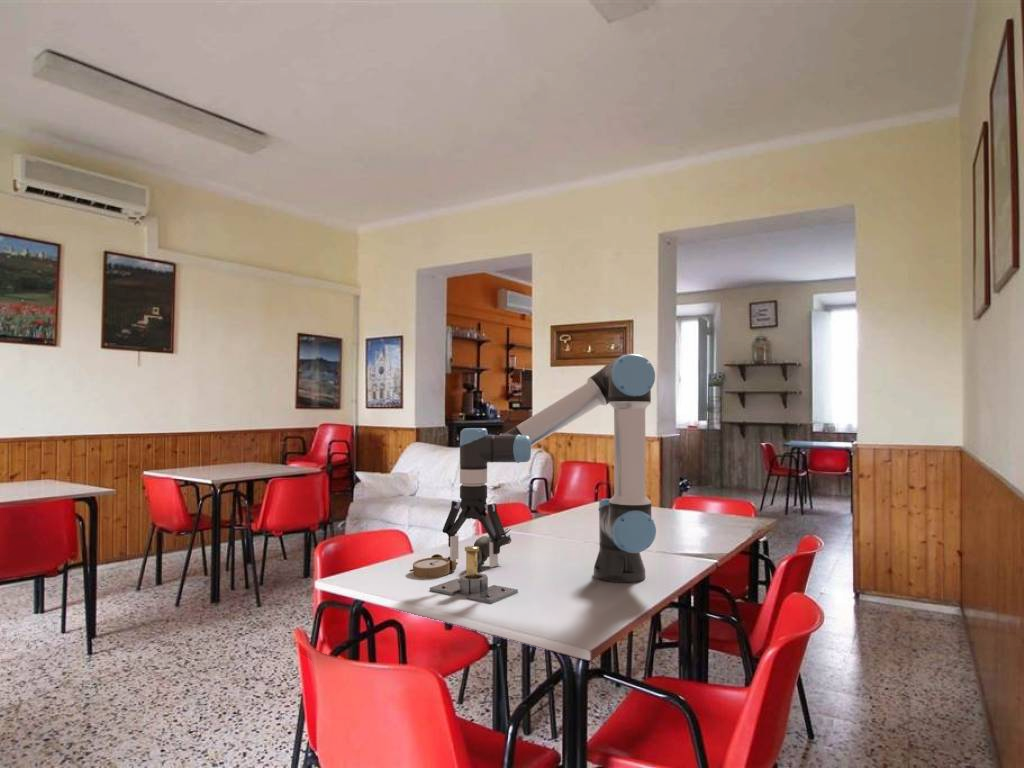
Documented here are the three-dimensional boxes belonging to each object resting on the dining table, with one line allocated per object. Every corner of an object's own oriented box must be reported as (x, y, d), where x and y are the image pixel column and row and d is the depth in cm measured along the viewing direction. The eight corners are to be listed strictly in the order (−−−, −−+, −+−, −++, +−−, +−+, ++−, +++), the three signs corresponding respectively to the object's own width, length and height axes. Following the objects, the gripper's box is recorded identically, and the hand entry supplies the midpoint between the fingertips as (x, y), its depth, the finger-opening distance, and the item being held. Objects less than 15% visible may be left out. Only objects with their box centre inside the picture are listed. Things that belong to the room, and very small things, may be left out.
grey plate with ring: (457, 581, 183) (457, 567, 183) (517, 592, 171) (517, 577, 171) (429, 590, 173) (429, 575, 173) (491, 603, 161) (491, 587, 161)
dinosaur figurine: (474, 577, 187) (474, 539, 188) (451, 573, 192) (451, 536, 192) (513, 562, 206) (513, 527, 206) (491, 559, 210) (491, 525, 211)
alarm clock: (404, 565, 191) (438, 548, 203) (406, 580, 192) (440, 563, 203) (430, 570, 184) (464, 552, 196) (432, 587, 185) (466, 568, 196)
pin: (481, 590, 173) (481, 547, 173) (472, 593, 170) (472, 549, 170) (470, 588, 175) (470, 545, 176) (461, 591, 172) (462, 547, 173)
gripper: (518, 485, 169) (519, 566, 168) (447, 480, 184) (447, 554, 183) (502, 488, 163) (502, 571, 162) (430, 482, 177) (430, 559, 176)
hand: (473, 562), depth 172 cm, fingers open, 13 cm apart
